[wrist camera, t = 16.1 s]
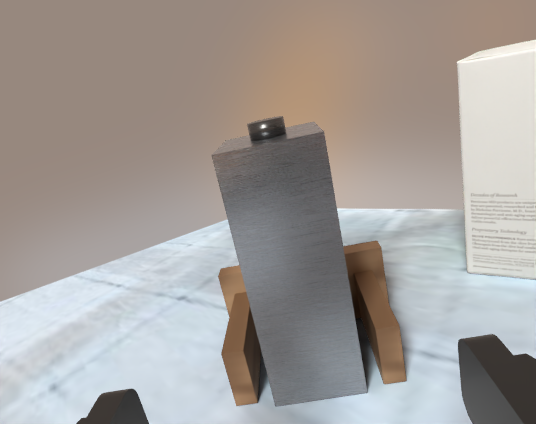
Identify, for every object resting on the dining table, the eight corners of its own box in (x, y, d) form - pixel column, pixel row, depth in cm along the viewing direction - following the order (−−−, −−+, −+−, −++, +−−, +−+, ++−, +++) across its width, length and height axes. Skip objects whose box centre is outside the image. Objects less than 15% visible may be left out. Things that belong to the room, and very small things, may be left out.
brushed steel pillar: (351, 336, 26) (311, 107, 21) (367, 392, 21) (320, 112, 17) (276, 348, 26) (222, 126, 22) (275, 406, 21) (206, 136, 17)
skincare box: (482, 232, 36) (473, 52, 31) (574, 235, 32) (579, 29, 27) (464, 276, 30) (449, 59, 25) (576, 287, 26) (582, 31, 21)
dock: (385, 304, 28) (376, 240, 27) (421, 378, 21) (412, 297, 20) (237, 328, 29) (220, 268, 28) (222, 407, 22) (199, 332, 21)
